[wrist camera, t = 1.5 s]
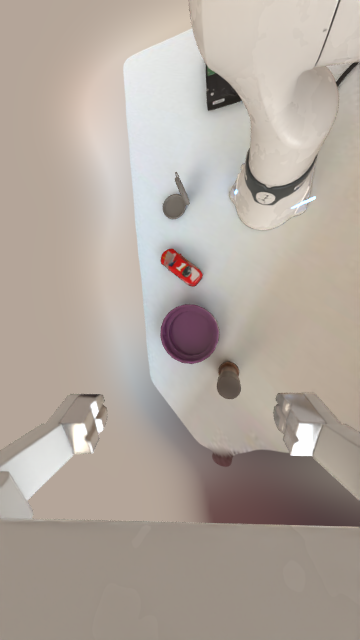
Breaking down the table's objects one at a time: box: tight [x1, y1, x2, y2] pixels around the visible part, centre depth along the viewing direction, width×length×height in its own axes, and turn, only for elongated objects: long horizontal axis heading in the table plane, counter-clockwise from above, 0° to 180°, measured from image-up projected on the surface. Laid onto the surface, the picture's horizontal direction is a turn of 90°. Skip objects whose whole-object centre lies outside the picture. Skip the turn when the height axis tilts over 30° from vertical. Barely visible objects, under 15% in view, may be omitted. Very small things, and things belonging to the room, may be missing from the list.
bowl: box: [161, 304, 219, 364], centre depth 51 cm, size 15×15×4 cm
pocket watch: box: [163, 172, 190, 219], centre depth 48 cm, size 8×8×10 cm
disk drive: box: [206, 65, 242, 111], centre depth 48 cm, size 10×3×15 cm
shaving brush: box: [217, 362, 241, 399], centre depth 45 cm, size 5×5×12 cm
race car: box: [161, 249, 203, 286], centre depth 51 cm, size 13×5×4 cm, turn 49°
